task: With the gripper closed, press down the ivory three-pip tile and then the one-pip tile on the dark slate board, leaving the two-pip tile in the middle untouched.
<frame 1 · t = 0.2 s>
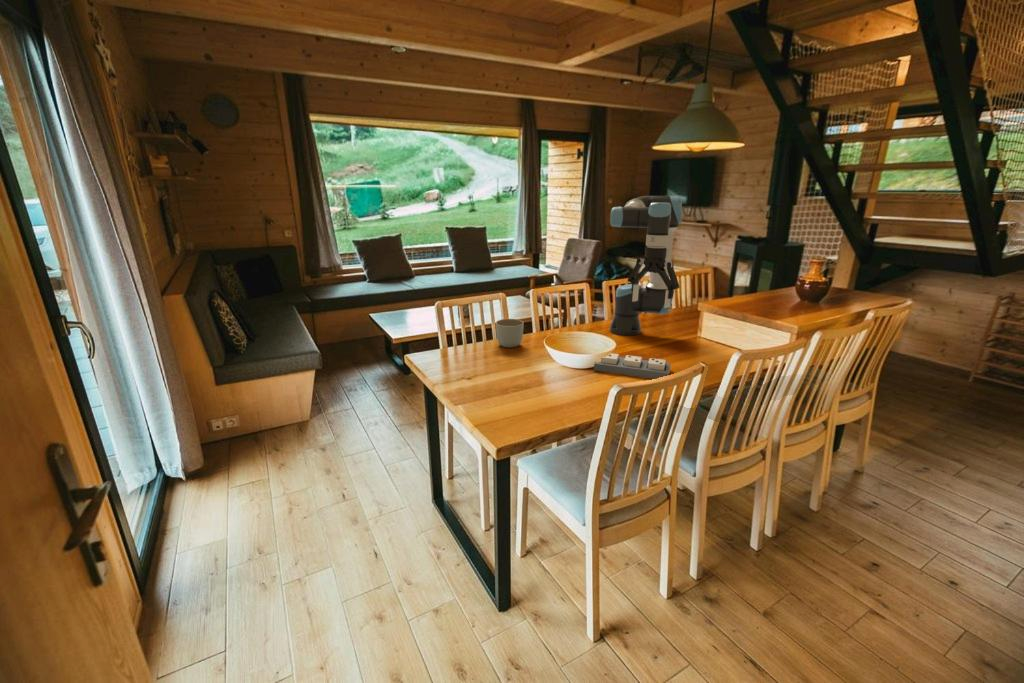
hand: (650, 304, 177), 27 cm above the table, fingers open, 13 cm apart
planter: (509, 345, 214), on the table
tile three pips: (656, 364, 181), point 4 cm above the table, slide at 0.0 cm
tile two pips: (632, 361, 184), point 4 cm above the table, slide at 0.0 cm
board: (631, 370, 186), on the table
tile one pip: (609, 358, 187), point 4 cm above the table, slide at 0.0 cm
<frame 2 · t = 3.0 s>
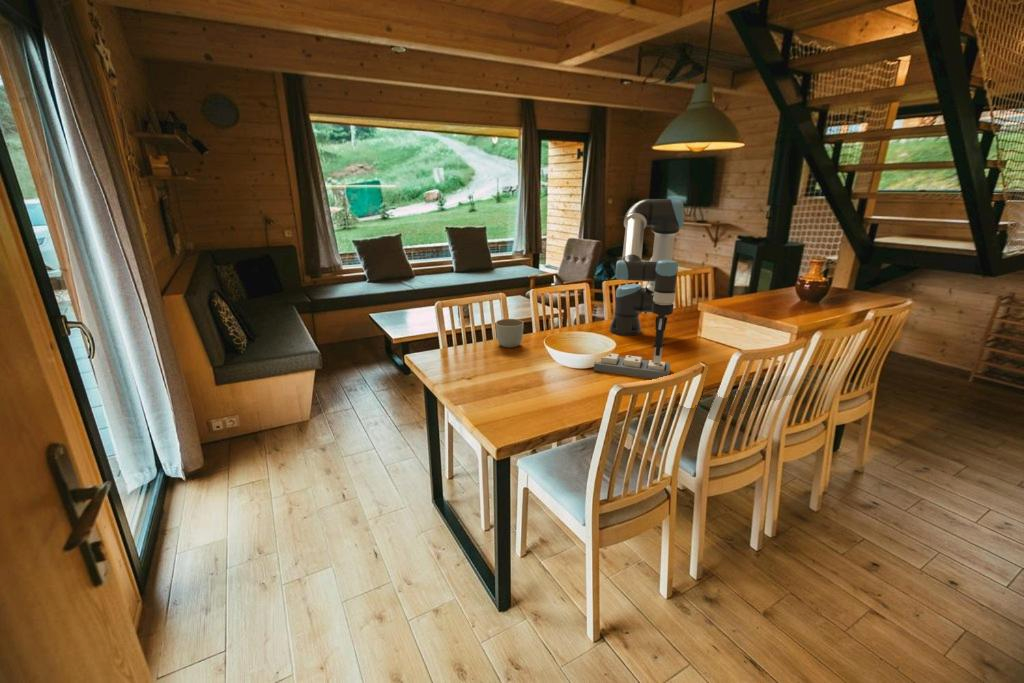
hand: (656, 362, 181), 5 cm above the table, fingers closed
tile three pips: (656, 366, 182), point 3 cm above the table, slide at 0.8 cm, touching gripper
everything else where it was.
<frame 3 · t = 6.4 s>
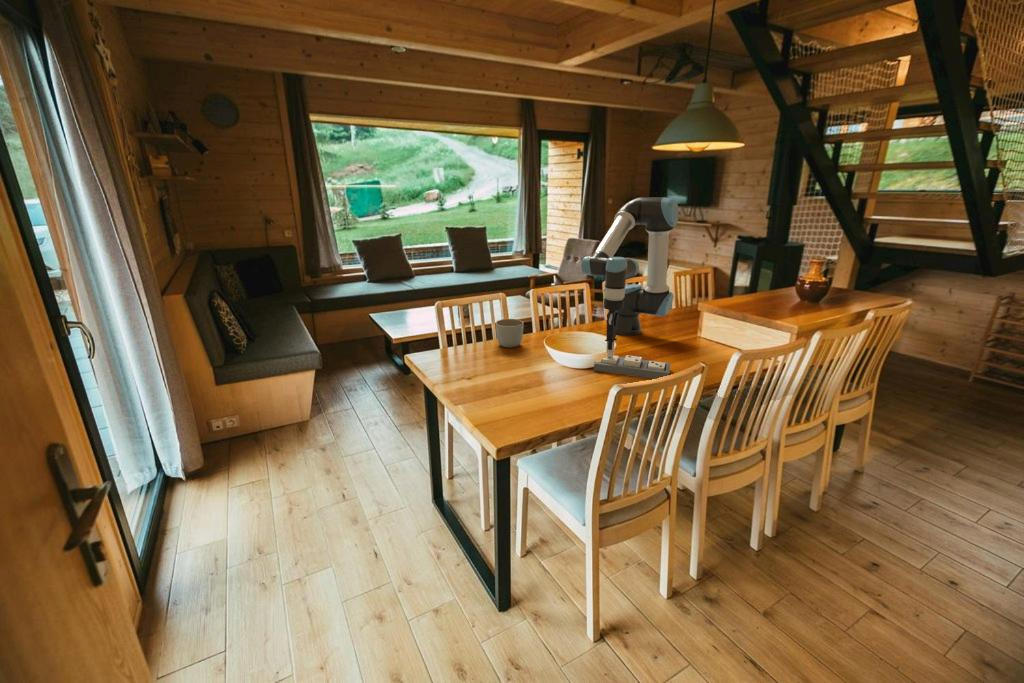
hand: (609, 356, 187), 5 cm above the table, fingers closed
tile three pips: (656, 367, 182), point 3 cm above the table, slide at 1.2 cm
tile one pip: (609, 360, 188), point 3 cm above the table, slide at 0.7 cm, touching gripper
everything else where it was.
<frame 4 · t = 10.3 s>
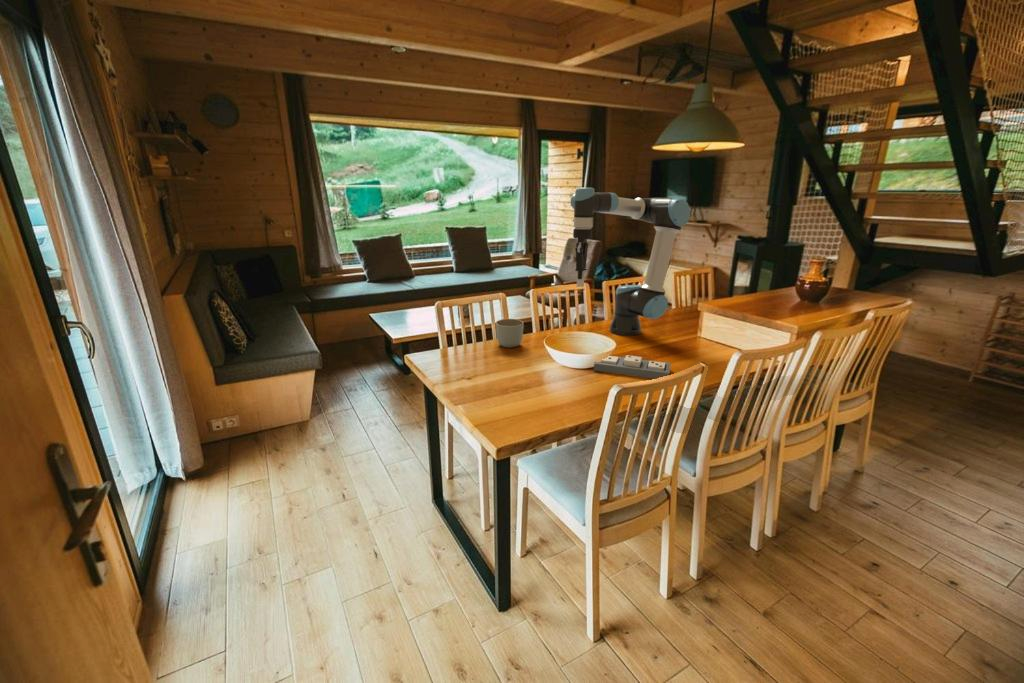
hand: (580, 286, 195), 29 cm above the table, fingers closed
tile one pip: (609, 361, 188), point 3 cm above the table, slide at 1.2 cm
everything else where it was.
at the end: tile three pips slide at 1.2 cm; tile one pip slide at 1.2 cm; tile two pips slide at 0.0 cm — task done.
